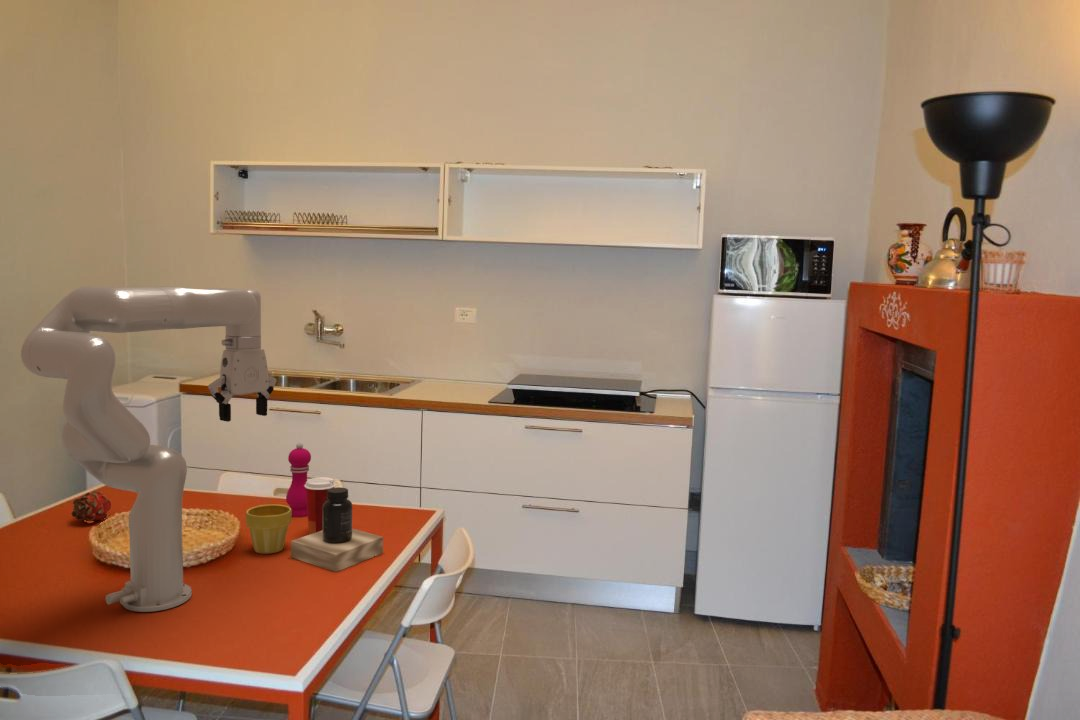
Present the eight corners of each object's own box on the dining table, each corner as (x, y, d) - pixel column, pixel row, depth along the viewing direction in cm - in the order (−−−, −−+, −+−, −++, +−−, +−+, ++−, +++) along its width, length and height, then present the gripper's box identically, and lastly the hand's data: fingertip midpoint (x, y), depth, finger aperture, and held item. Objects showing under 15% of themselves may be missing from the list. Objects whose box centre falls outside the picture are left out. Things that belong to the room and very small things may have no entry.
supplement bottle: (351, 533, 187) (352, 485, 186) (352, 543, 181) (352, 493, 180) (322, 535, 186) (322, 486, 184) (322, 545, 179) (322, 494, 178)
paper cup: (339, 529, 202) (340, 477, 200) (329, 539, 194) (329, 485, 193) (311, 527, 203) (311, 475, 201) (299, 537, 195) (299, 483, 194)
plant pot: (271, 538, 193) (271, 501, 192) (300, 547, 188) (300, 508, 187) (236, 550, 185) (236, 511, 184) (266, 560, 179) (265, 519, 178)
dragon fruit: (82, 535, 196) (94, 527, 207) (113, 513, 198) (122, 506, 210) (60, 509, 195) (73, 502, 206) (91, 487, 197) (102, 482, 208)
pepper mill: (286, 510, 217) (286, 440, 214) (313, 508, 219) (313, 439, 217) (285, 518, 210) (285, 446, 208) (313, 516, 212) (313, 445, 210)
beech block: (336, 572, 174) (336, 554, 173) (291, 557, 181) (291, 540, 181) (382, 553, 186) (383, 537, 186) (339, 540, 194) (339, 524, 194)
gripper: (219, 347, 166) (220, 425, 168) (285, 342, 180) (285, 415, 182) (198, 344, 170) (199, 420, 172) (264, 340, 184) (264, 411, 186)
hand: (243, 417), depth 177 cm, fingers open, 9 cm apart
